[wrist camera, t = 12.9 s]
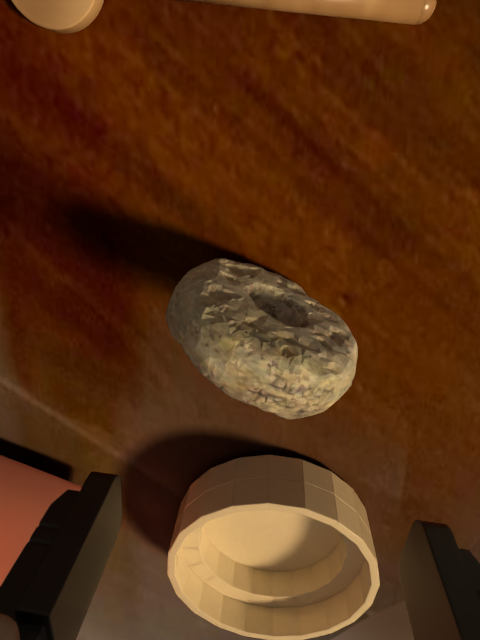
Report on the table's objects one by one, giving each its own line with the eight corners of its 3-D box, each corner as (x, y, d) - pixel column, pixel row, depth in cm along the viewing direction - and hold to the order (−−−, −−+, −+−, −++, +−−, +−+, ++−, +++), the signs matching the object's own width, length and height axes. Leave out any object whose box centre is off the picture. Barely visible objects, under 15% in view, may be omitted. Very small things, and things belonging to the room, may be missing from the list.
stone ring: (353, 309, 26) (391, 408, 17) (321, 351, 27) (341, 463, 18) (208, 229, 25) (166, 291, 16) (183, 279, 26) (132, 361, 17)
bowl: (386, 464, 31) (404, 523, 26) (344, 589, 38) (353, 653, 33) (185, 436, 31) (170, 489, 27) (178, 564, 38) (165, 624, 34)
